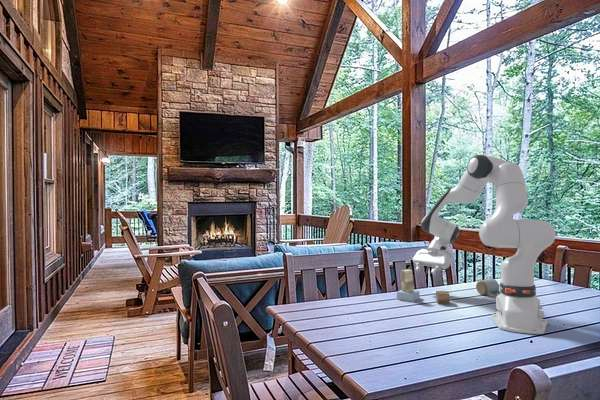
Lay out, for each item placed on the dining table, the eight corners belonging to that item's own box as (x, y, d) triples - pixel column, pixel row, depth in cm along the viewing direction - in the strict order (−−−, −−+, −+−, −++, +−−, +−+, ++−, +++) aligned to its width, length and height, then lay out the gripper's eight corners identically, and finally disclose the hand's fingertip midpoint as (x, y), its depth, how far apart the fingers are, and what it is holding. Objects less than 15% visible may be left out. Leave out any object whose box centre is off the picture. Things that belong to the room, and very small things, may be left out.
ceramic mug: (474, 293, 187) (474, 278, 187) (487, 291, 190) (487, 276, 190) (492, 299, 177) (492, 282, 177) (505, 297, 180) (505, 281, 180)
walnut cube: (449, 304, 169) (449, 293, 169) (438, 304, 170) (437, 293, 170) (447, 301, 174) (447, 291, 174) (436, 301, 175) (436, 290, 175)
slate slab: (412, 302, 175) (412, 294, 175) (396, 300, 180) (396, 291, 180) (419, 298, 181) (419, 290, 181) (403, 296, 186) (403, 288, 186)
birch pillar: (414, 290, 180) (412, 270, 180) (407, 292, 178) (405, 271, 178) (408, 289, 183) (406, 269, 184) (401, 290, 182) (400, 270, 182)
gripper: (417, 245, 201) (405, 265, 195) (451, 248, 183) (439, 270, 178) (422, 252, 203) (411, 273, 197) (456, 256, 186) (445, 278, 180)
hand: (424, 271), depth 187 cm, fingers open, 8 cm apart
